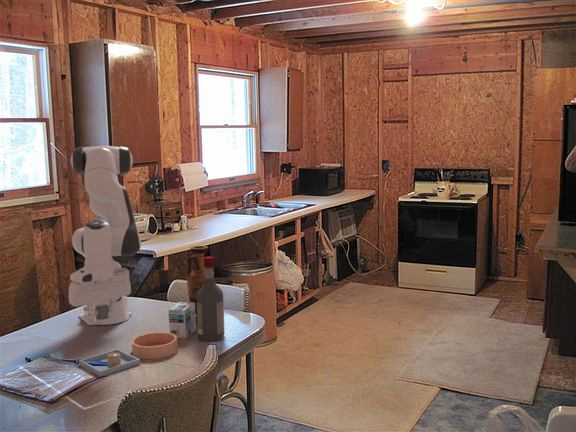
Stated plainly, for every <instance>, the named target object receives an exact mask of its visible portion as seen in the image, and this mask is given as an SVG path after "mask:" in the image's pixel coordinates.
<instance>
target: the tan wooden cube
mask: <svg viewBox="0 0 576 432" xmlns="http://www.w3.org/2000/svg"><path fill="white" fill-rule="evenodd" d="M107 361H108V368H111V367H114V366H117V365H120V364H121V359H120V353H110V354H108V355H107Z"/></svg>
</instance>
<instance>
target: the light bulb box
mask: <svg viewBox="0 0 576 432" xmlns="http://www.w3.org/2000/svg"><path fill="white" fill-rule="evenodd" d="M195 316H196V314H195V303H190V301H189V302H187V301H178V302H177V303H176V304H175V305H173V306H171V307H170V308H169V309H168V323H169V324H168V325H169V326H168V328H169V333H171V334H174V335H176V337H177V339H188V337H190V336H191V335H192V334H193V333H194V332H196V330H197V324H196V319H195Z"/></svg>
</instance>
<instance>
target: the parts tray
mask: <svg viewBox="0 0 576 432" xmlns="http://www.w3.org/2000/svg"><path fill="white" fill-rule="evenodd" d="M110 353H120V359H121V364H120V365H117V366H114V367H111V368H108V366H92V365H90V364H88V363H86V362H88V361H101V362H108V361H107V355H108V354H110ZM138 365H141V358H138V357H135V356H133V355H132V354H130V353H128V352H126V351H124V350H122V349H120V348H116V349H113V350H109V351H106V352H102V353H99V354H95V355H92V356H88V357H85V358H81V359H79V360H78V366H80V367H82V368H83V369H85V370H87V371H89V372H90V371H91V373H92V372H93V373H92V374H94V373H95V374H94V375H96V376H98V377H99V378H100V377H101V378H102V377H105V376H107V375H110V374H111V375H112V374H113V373H118V372H120V371H123V370H126V369H129V368H133V367H135V366H138Z"/></svg>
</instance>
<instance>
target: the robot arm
mask: <svg viewBox="0 0 576 432" xmlns="http://www.w3.org/2000/svg"><path fill="white" fill-rule="evenodd" d="M133 159H134V158H133V154H132V153H131V150H130V149H129V147H127V146H126V147H125V146H113V145H99V146H98V145H97V146H95V145H94V146H86V147H85V146H78V147H75V148H74V149H73V151H72V154H71V156H70V164H71V167H72V169H73V172H75V173H76V174H77V175H80V176H81V175H82V176H84V178H83V179H84V187H85V191H86V193H87V194H88V195H89V208H90V210H91V212H92V213H93V214H95V215H96V216H99V217H101V218H103V219H104V220H101V219H100V220H99V219H98V220H92V221H88V222H86V223H85V225H84V227H81V228H78V229H76V230H75V231H74V233H73V234H72V237H71V243H72V247H73V249H74V250H75V251H76V253H78V254H80V255H82V256H83V257H84V258H85V260H84V266H83V267H81V268H80V269H79V270H76V271H74V272H72V273H70V276H69V279H70V281H71V282H70V284H69V287H68V303H69V304H70V305H71V306H73V307H76V308H77V307H82V306H83V312H81V313H80V314H79V316H78V317H79V319H81V320H82V321H83V322H84V323H85V324H87V325H88V326H96V325H97V326H98V325H99V326H103V325H104V326H108V325H115V324H119V323H120V324H121V323H122V322H126V321H127V320H129V317H130V316H132V314H133V313H132V312H131V311H130V309H129V303H128V297H127V296H130V295H131V294H132V286H131V285H132V284H131V280H130V270H129V269H128V268H126V267H122V266H121V264H120V263H119V262H118V261H116V260H114V257H133V256H135V255H136V254H137V253H138V252H139V251H140V250H141V245H142V240H141V235H140V233H139V230H138V228H137V225H136V220H135V215H134V210H133V207H132V203H131V199H130V196H129V192H128V189H127V187H125V186H123V185H121V184H120V183H119V177H118V175H120V177H123V176H124V175H126V174H128V173H129V172H130V171H131V169H132V167H133V164H134V160H133ZM99 304H108V309H109V318H107V319H103V320H98V319H96V316H97V315H98V310H96V309H95V306H96V305H99Z"/></svg>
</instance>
